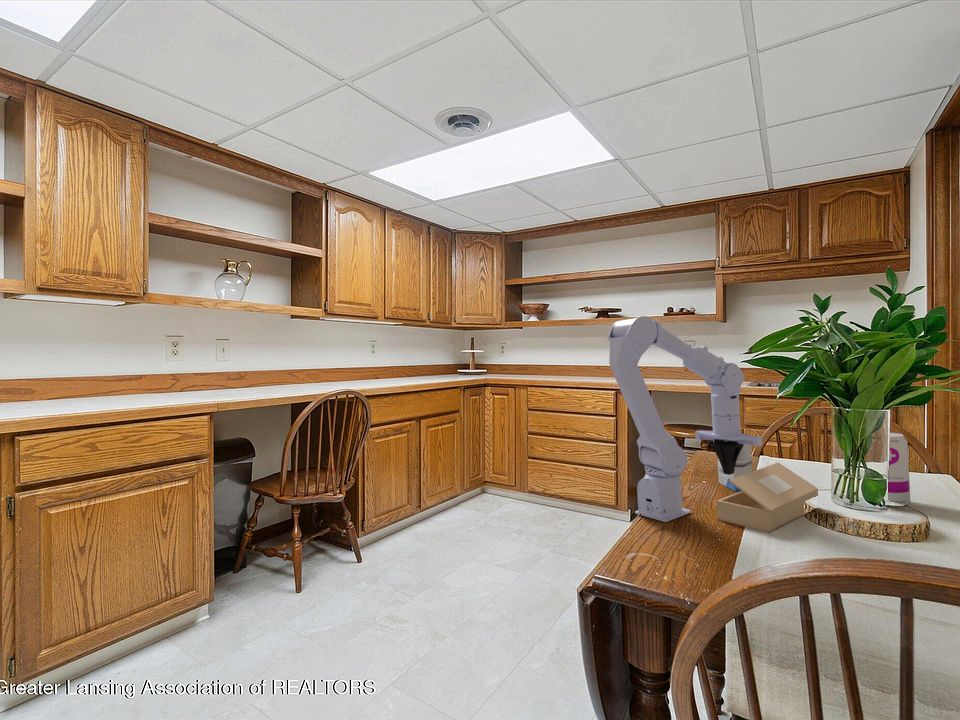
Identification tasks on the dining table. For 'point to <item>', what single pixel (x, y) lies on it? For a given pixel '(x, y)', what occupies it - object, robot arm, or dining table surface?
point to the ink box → (737, 468)
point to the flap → (773, 486)
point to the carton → (759, 512)
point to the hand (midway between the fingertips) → (728, 473)
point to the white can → (898, 470)
